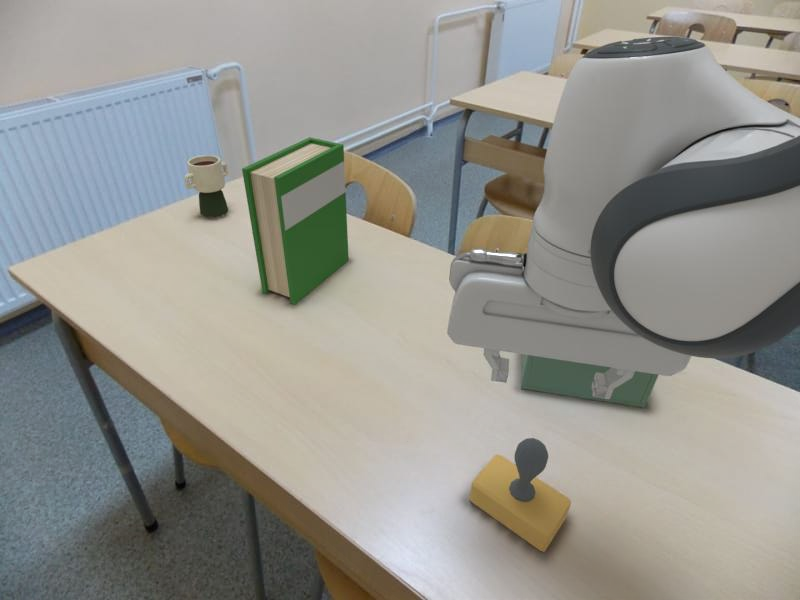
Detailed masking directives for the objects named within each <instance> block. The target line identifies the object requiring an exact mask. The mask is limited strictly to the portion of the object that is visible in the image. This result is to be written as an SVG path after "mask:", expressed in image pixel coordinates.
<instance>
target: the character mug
mask: <svg viewBox="0 0 800 600" xmlns="http://www.w3.org/2000/svg"><path fill="white" fill-rule="evenodd" d="M187 169H188V173H185V174H184V175H183V180H184V184H185V187H186V189H187V190H190V189H194V190H195V191H196V192H198V205H199V213H200V215H201V216H203V217H207V218H220V217H223V216H225V215H226V214H227V213H228V212H229V207H228V203H227V200H226V197H225V194H224V192H223V189H224V188H225V186H226V181H225V177H227V176H229V169H228V164H227V162H226V161H222V160H221V157H219V156H218V155H214V154H213V155H212V154H202V155H201V154H200V155H195V156H193V157H191V158H189V159H187Z"/></svg>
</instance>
